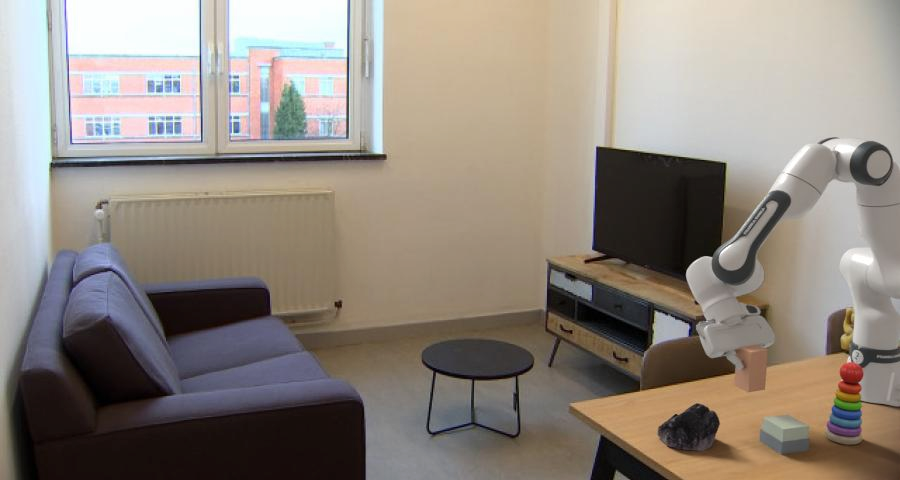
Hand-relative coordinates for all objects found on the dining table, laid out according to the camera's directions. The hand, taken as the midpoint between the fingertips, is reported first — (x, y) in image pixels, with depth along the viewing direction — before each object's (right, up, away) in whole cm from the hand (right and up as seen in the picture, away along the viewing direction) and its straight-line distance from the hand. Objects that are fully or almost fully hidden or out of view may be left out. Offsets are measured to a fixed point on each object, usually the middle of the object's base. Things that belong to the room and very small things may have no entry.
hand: (753, 366), depth 209 cm
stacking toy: (+20, -17, -4) cm, 26 cm away
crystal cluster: (-18, -16, -7) cm, 25 cm away
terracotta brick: (0, -5, +2) cm, 5 cm away
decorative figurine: (+53, -5, +60) cm, 80 cm away
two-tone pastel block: (+4, -17, -8) cm, 19 cm away
